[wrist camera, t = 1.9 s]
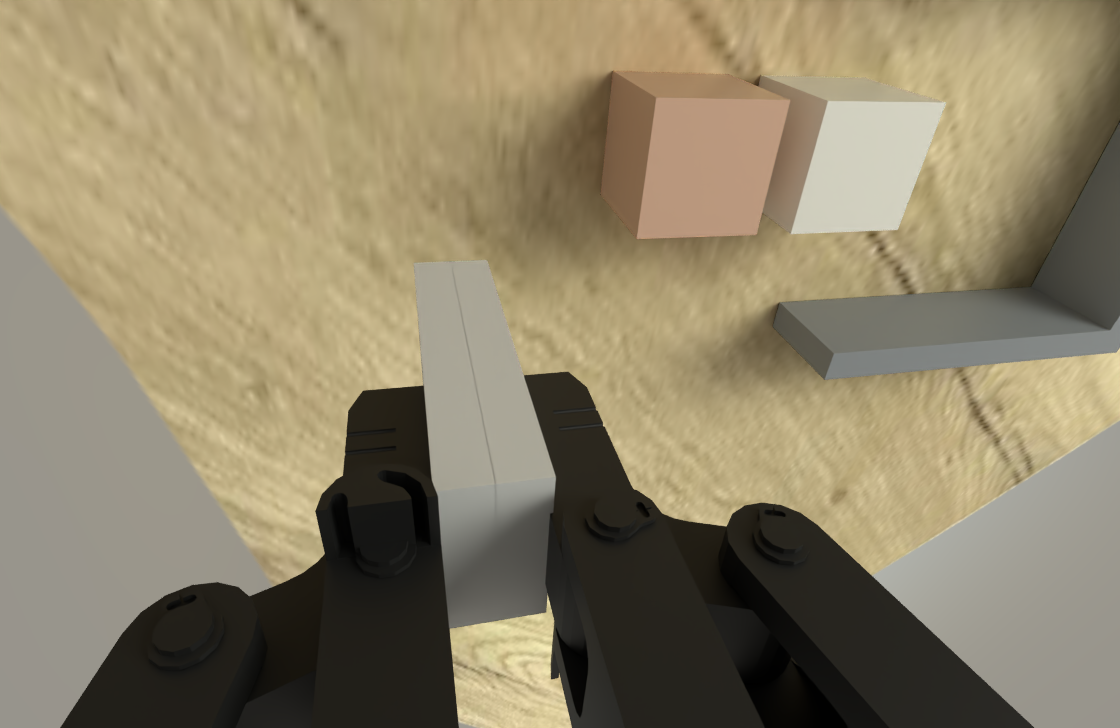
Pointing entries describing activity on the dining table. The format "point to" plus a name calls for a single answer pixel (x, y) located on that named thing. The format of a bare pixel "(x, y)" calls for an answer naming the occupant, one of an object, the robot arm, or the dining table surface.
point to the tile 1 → (690, 153)
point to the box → (982, 306)
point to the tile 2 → (847, 153)
